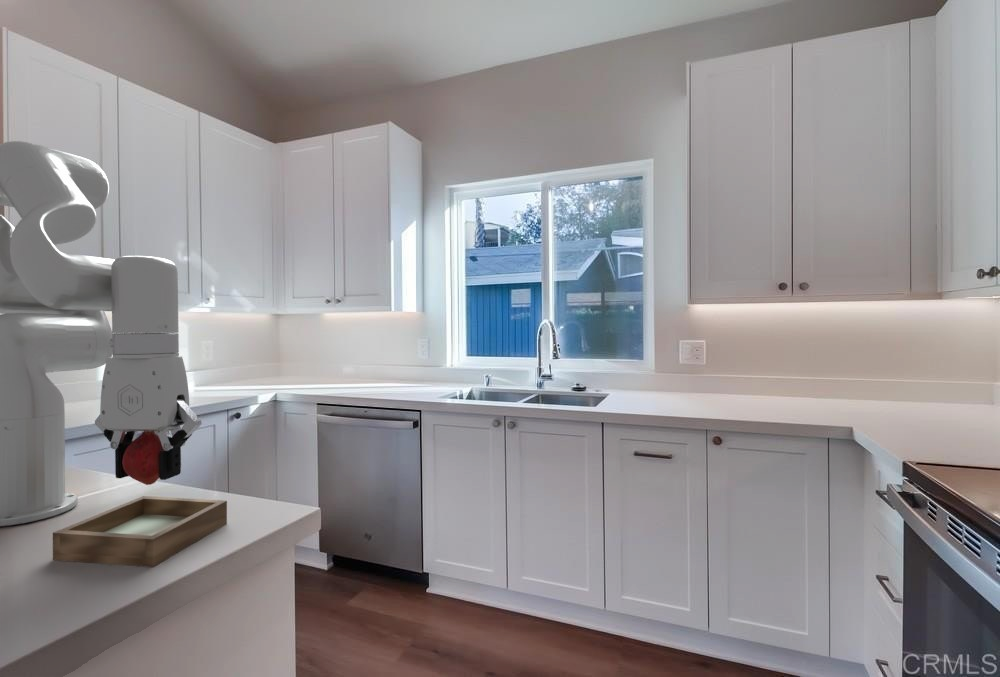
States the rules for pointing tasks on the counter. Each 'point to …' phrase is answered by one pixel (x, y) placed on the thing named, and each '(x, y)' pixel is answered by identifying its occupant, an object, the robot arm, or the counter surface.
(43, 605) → the counter surface
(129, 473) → the dark red round piece
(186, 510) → the tray
